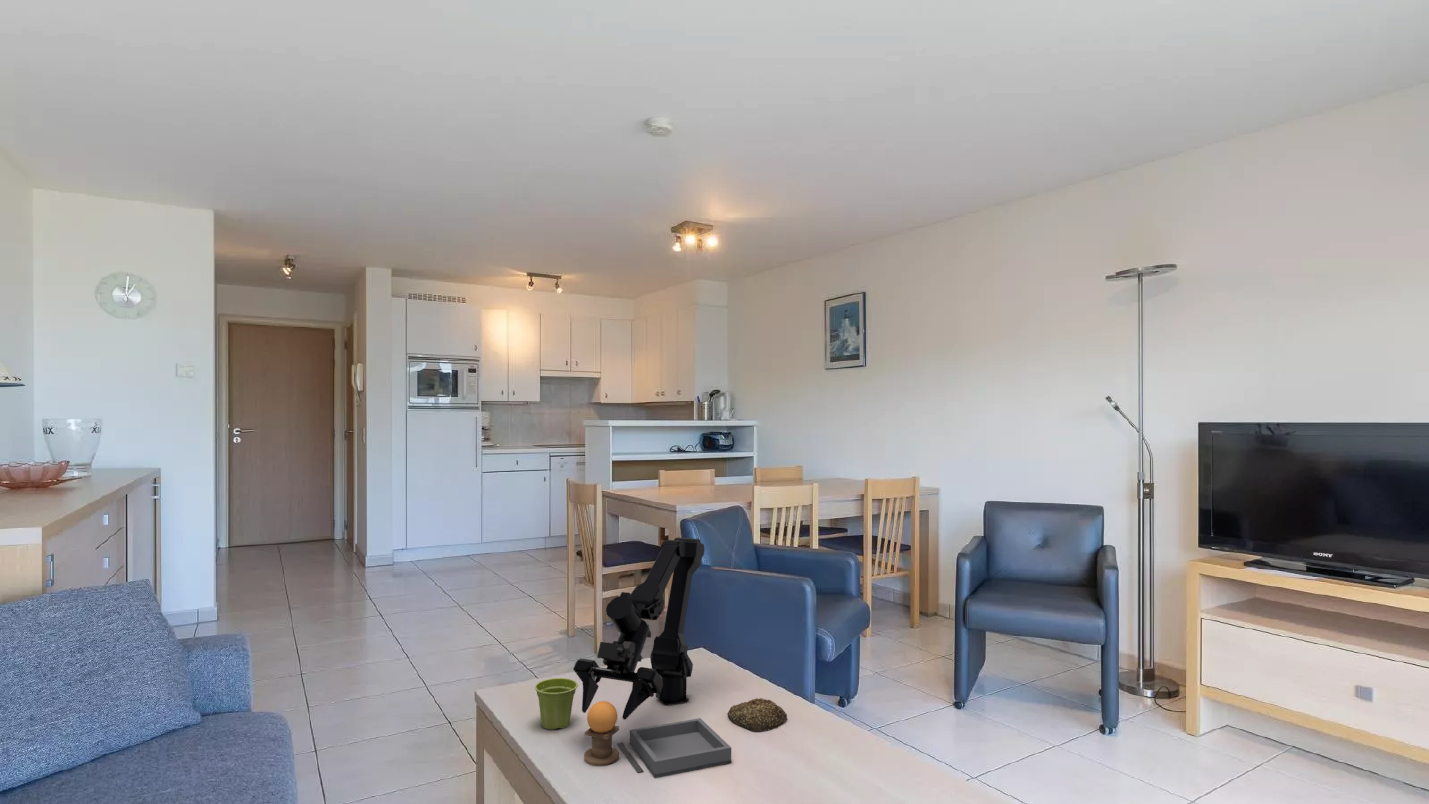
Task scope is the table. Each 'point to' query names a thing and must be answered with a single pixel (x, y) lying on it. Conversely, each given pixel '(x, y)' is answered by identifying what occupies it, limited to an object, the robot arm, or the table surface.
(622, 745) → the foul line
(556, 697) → the plant pot
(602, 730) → the ball
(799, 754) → the table surface
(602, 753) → the tee
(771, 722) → the brown speckled mound
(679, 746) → the grey square tray
